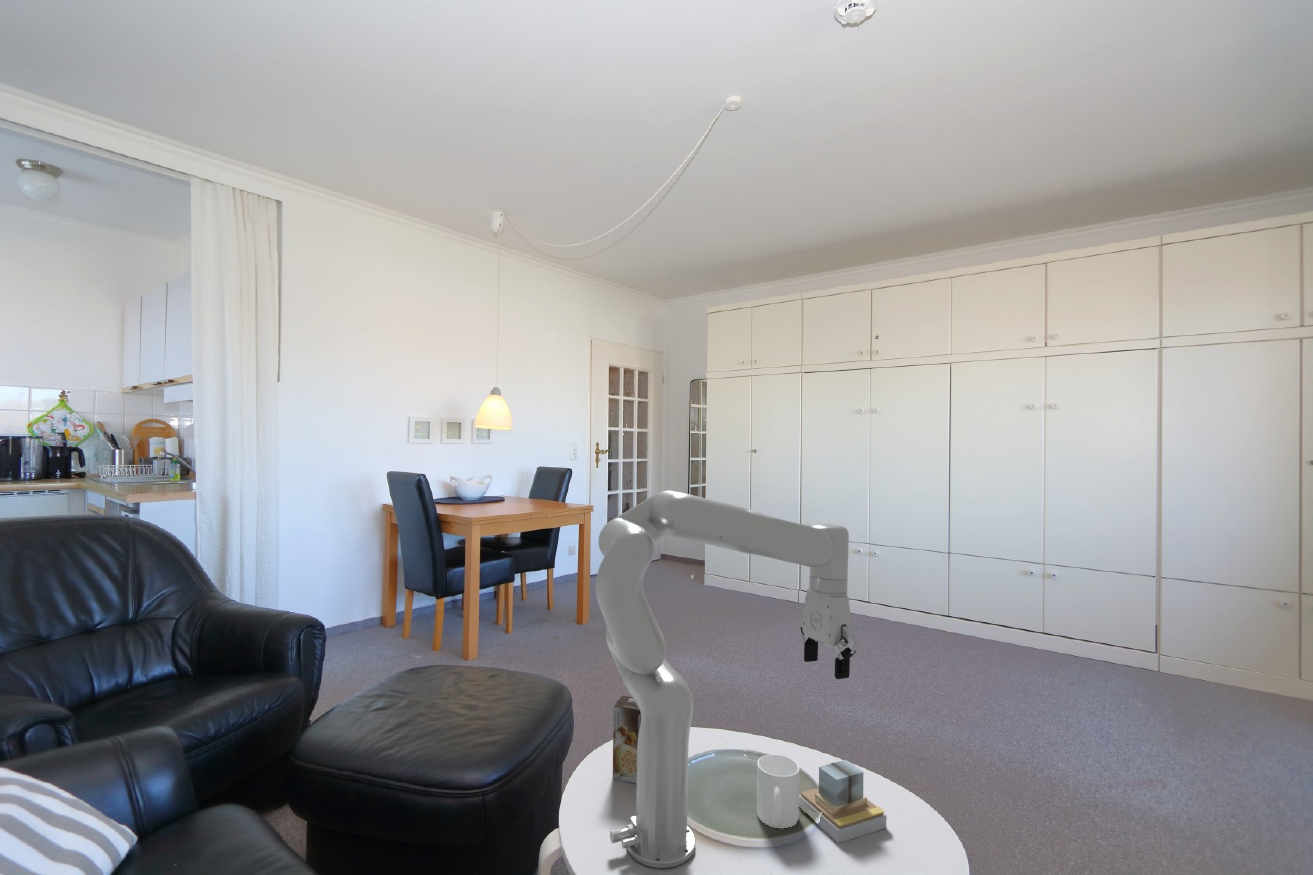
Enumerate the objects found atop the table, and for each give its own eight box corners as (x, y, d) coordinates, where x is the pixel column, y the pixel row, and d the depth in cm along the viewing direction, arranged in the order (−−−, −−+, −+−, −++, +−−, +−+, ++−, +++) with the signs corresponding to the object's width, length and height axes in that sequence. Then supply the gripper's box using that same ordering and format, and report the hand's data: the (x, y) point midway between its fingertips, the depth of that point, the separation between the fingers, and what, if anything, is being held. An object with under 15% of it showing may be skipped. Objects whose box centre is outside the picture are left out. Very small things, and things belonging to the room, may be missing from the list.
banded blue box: (832, 814, 111) (832, 780, 111) (814, 799, 116) (814, 767, 116) (867, 803, 115) (867, 770, 115) (848, 789, 119) (849, 758, 120)
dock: (838, 843, 107) (838, 825, 107) (797, 806, 118) (798, 790, 118) (886, 827, 112) (886, 811, 112) (843, 793, 123) (843, 778, 123)
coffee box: (658, 771, 130) (660, 700, 130) (650, 787, 124) (651, 712, 124) (620, 764, 133) (622, 694, 133) (610, 779, 127) (612, 705, 127)
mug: (799, 846, 106) (799, 790, 106) (753, 838, 108) (754, 783, 108) (798, 808, 118) (799, 757, 118) (757, 801, 120) (758, 751, 120)
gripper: (788, 577, 124) (785, 656, 124) (842, 596, 109) (839, 687, 108) (816, 575, 127) (813, 653, 127) (873, 594, 111) (870, 683, 111)
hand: (825, 669), depth 117 cm, fingers open, 9 cm apart
